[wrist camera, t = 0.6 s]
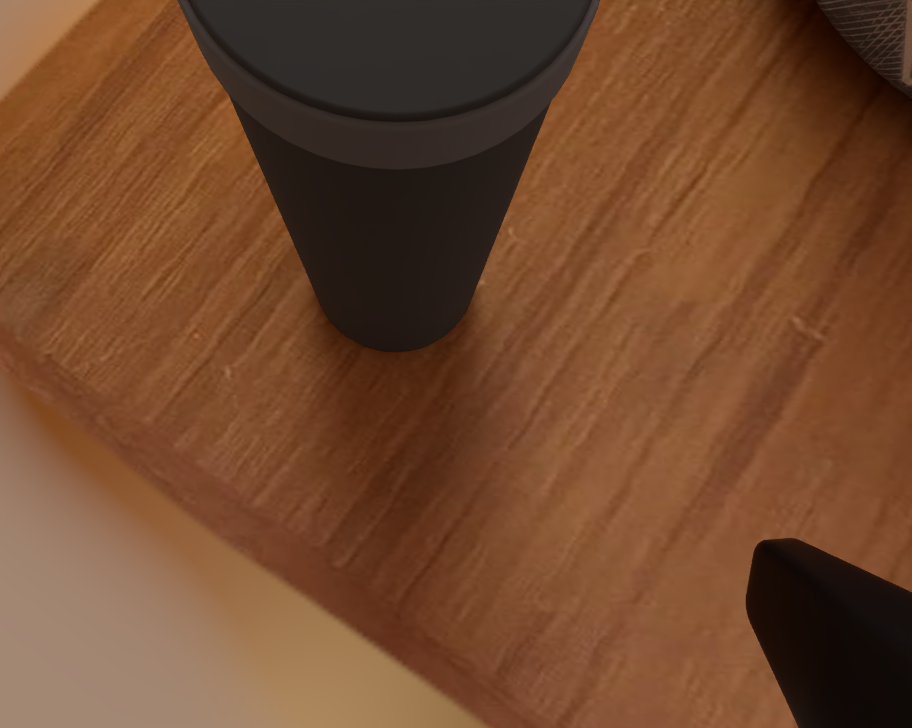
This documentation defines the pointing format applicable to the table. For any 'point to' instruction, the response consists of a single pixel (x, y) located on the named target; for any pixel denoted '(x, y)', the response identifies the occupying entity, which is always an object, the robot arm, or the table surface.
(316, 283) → the dark grey cylinder
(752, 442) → the table surface
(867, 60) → the planter
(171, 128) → the table surface
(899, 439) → the table surface
